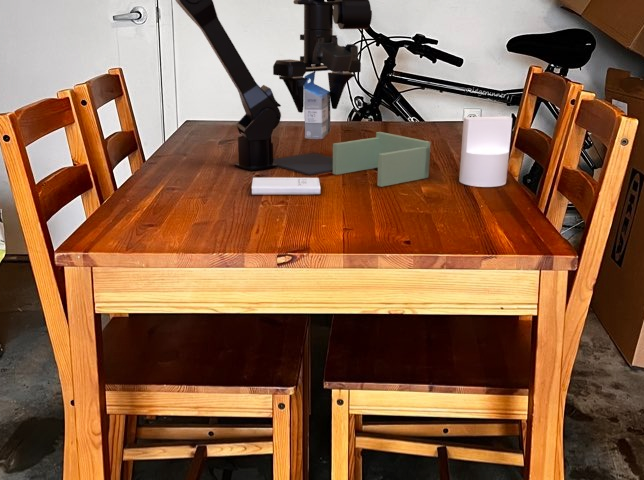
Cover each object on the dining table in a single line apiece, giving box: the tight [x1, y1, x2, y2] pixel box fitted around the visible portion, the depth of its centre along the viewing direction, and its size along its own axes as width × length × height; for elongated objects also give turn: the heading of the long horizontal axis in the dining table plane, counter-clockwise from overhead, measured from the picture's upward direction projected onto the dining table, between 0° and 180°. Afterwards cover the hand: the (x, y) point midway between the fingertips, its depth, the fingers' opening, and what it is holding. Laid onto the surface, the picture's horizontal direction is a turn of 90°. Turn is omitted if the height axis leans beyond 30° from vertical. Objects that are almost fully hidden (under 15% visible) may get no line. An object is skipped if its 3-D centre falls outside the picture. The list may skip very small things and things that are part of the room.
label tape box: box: [303, 71, 332, 140], centre depth 168 cm, size 9×4×12 cm, turn 167°
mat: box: [272, 152, 333, 176], centre depth 172 cm, size 14×16×1 cm
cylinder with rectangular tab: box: [458, 115, 513, 188], centre depth 155 cm, size 9×9×12 cm
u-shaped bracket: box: [332, 131, 432, 188], centre depth 161 cm, size 13×14×7 cm
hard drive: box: [251, 177, 322, 196], centre depth 151 cm, size 2×8×12 cm
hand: (317, 110), depth 168 cm, fingers closed on label tape box, 8 cm apart
